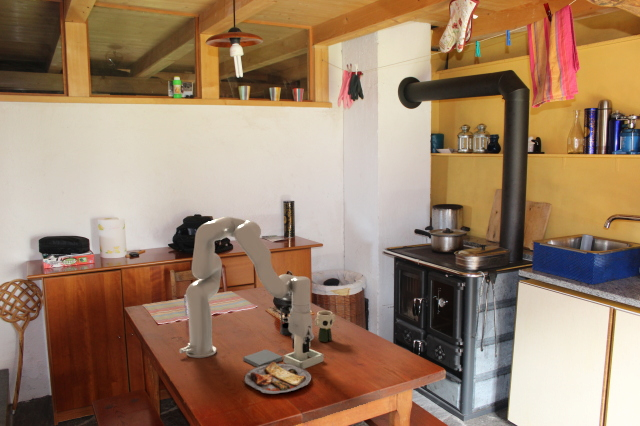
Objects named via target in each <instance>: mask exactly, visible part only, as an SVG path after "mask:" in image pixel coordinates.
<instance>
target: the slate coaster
mask: <svg viewBox="0 0 640 426" xmlns="http://www.w3.org/2000/svg"><path fill="white" fill-rule="evenodd" d="M242 359H243V361H244V362H246V363H248V364H249V365H251V366H254V367H260V366H263V365H269V364H271V363H272V362H275V363H278V362H282V361H284V356H283V355H280V354H277V353H276V352H274V351H270V350H268V349H263V350H259V351H258V352H254V353H251V354H248V355H246V356H243V357H242Z"/></svg>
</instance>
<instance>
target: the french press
mask: <svg viewBox="0 0 640 426" xmlns="http://www.w3.org/2000/svg"><path fill="white" fill-rule="evenodd" d="M279 300H280V301H281V302H283V303H284V305H282V306H280V308H279V309H280V331H279V332H280V334H281V335H283V336H288V337H289V336H291V334H290V332H289V330H288V327H289V316H290V311H291V310H289V309H292V294H291V292H289V293H288V294H286V295H285V296H284V297H282V298H279ZM283 314H284V316H283ZM291 337H292V336H291Z"/></svg>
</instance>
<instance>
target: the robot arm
mask: <svg viewBox="0 0 640 426" xmlns="http://www.w3.org/2000/svg"><path fill="white" fill-rule="evenodd" d="M261 235H262V229H261V227H260V225H259V224H258V223H257V222H254V221H252V220H248V219H243V218H237V217H233V216H223V217H220V218H216V219H213V220H211V221H207V222H205V223H203V224H201V225H200V226H199V227H198V228H197V230H196V233H195V235H194V236H195V237H194V248H193V255H192V262H191V273H192V276H193V277H194V278H196V280H195V281H193V282H192V283H190V284H189V286H188V287H187V289H186V291H185V300H186V305H187V310H188V312H187V313H188V329H189V332H188V333H189V334H188V335H189V342H188V343H187V345H186V346H185V347H182V348H179V349H178V350H179V353H180V354H183V353H185V354H186V355H187V356H188V357H190V358H192V359H193V358H195V359H201V358H207V357H208V358H209V357H211V356H213V355H214V354H216V353H217V347H216V346H214V345H213V323H212V322H213V320H212V319H213V318H212V308H211V305H210V301H209V300H210V299H211V298H213V297H214V296H216V295H217V293H218V292H219V289H220V286H221V285H220V284H221V277H222V270H223V269H222V268H223V263H222V259H221V257H220V255H218V254H217V253H216V252H215V251H216V250H215V249H216V245H215V242H216V241H220V240H223V239H226V238H228V237H232V238H234V239H235V241H236V243H237V244H238V245H239V246H240V248H241V249H242V251H244V253H245V254H246V256H247V257H248V258H249V260H250V261H251V262H252V265H253V266H254V269H255V273H256V275H257V277H258V280H259V281H260V283H261V284H262V286H263V287H264V288H265V290H266V291H267V292H268V293H269V294H270V295H271V296H272V297H273V298H277V299H280V298H282V297H284V296H286V295H288V294H289V292H290V293H291V295H292V308H290V310H289V311H290V314H289V315H288V316H289V327H288V330H289V332H290V334H291V340H292V349H293V350H294V334H296V335H297V336H299V337H302V338H303V342H304V343H303V353H306V352H309V349H310V347H309V343H310V344H311V342H312V341H313V339H315V335H314V332H313V319H312V312H311V279H310V278H309V277H308V276H304V275H303V276H300V275H299V276H296V275H292V274H287V273H284V274H281V275H278V273H276V271H275V270H274V268H273V265H272V260H271V259H272V252H271V250H270V249H269V247H268V246H267V244H265V242H264V241H263V240H262V238H261ZM306 337H307V339H306Z"/></svg>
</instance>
